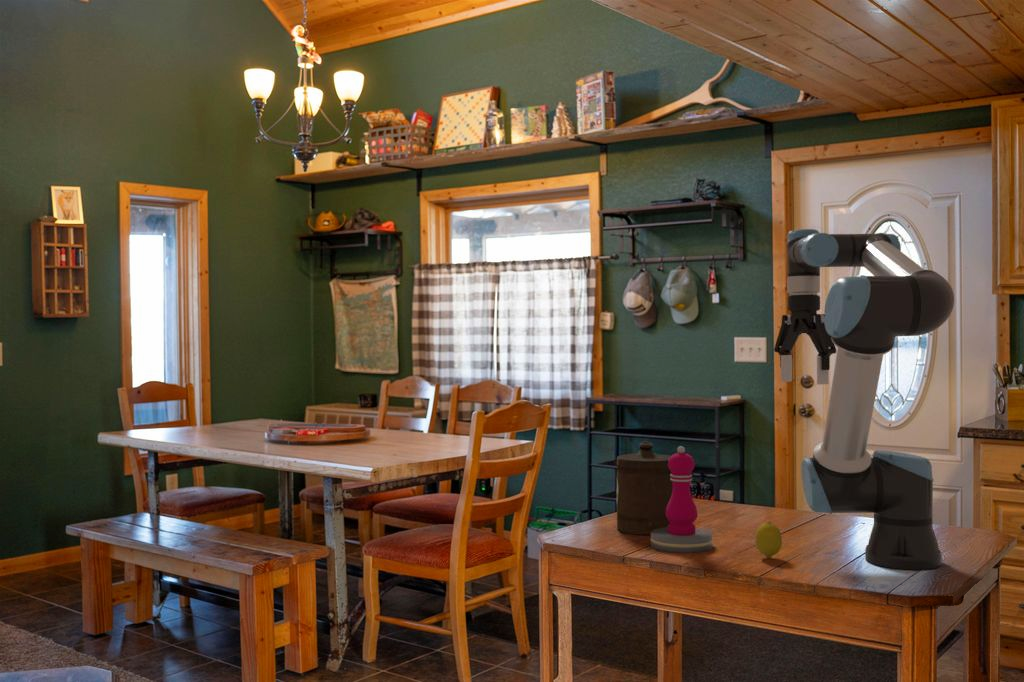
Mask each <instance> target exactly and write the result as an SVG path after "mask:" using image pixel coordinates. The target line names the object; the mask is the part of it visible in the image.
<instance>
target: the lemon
mask: <svg viewBox="0 0 1024 682" xmlns="http://www.w3.org/2000/svg"><path fill="white" fill-rule="evenodd" d="M780 530H781V529H780V528H779V527H778V526H776V525H775V524H773V522H772V523H771V521H766V523H762V524H761V525H760V526H758V528H757V530H756V534H755V546H756V549H757V550H758V551H759V553H761V554H762V555H764V556H765V558H767V559H771V558H772V557H773V556H774V555H777V554H778V553H779V552H780V550H781V548H782V544H783V541H782V539H783V538H782V537H783V536H782V533H781V531H780Z"/></svg>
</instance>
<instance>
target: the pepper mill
mask: <svg viewBox="0 0 1024 682" xmlns="http://www.w3.org/2000/svg"><path fill="white" fill-rule="evenodd" d="M676 451H677V452H676V453H673V454H672V455H670V456H671V457H670V458H669V461H668V467H669V469H670V471H671V472H672V474H670V476H671V478H670V480H671V481H672V484H673V491H672V496H671V499H670V501H669V503H668V505H667V509H666V517H667V519H668V520H669V521H670V524H669V525H668V533H669V534H672V535H682V536H686V535H693V534H695V528H696V525H695V524H694V522H695V521H696V520H697V518H698V509H697V505H696V503H695V502H694V499H693V497H692V493H691V482H692V481H693V474H692V471H694V469H695V460H694V458H693V456H692V455H690V454H688V453H685V452H686V448H685V447H684V446H681V445H680V446H678V447H677V450H676Z"/></svg>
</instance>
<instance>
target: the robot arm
mask: <svg viewBox="0 0 1024 682" xmlns="http://www.w3.org/2000/svg"><path fill="white" fill-rule="evenodd" d="M786 241H787V242H786V255H787V267H786V269H787V276H786V277H787V278H786V279H787V281H786V282H787V283H786V285H787V287H786V288H787V290H786V292H787V294H789V295H788V296H787V310H788V312H790V313H791V314H783V315H782V316H781V324H780V328H779V332H778V335H777V338H776V340H775V341H776V342H775V345H774V348H773V351H774V353H778V354H779V359H780V361H779V363H780V365H779V366H780V382H782V383H786V382H793V354H792V349H793V348H794V346H795V344H796V342H797V340H798V338H799V337H800V335H802V334H805V335H808V336H809V338H810V340H811V342H812V344H813V347H815V349H816V352H818V354H817V356H816V384H817V385H830V384H829V383H830V381H829V380H830V379H829V370H830V368H831V367H830V365H831V364H830V362H831V361H830V357H831V356H832V355H834V354H836V357H835V364H834V369H833V376H832V377H833V378H832V382H831V389H830V395H829V399H828V400H829V401H828V407H827V414H826V420H825V428H824V432H823V439H822V442H819V443H818V444H817V445H816V446H815V447H814V449H813V453H812V454H813V455H812V457H809V456H808V457H805V458H803V459H802V461H801V466H800V467H801V469H800V472H801V481H802V482H801V484H802V488H803V492H804V497H805V500H806V503H807V505H808V507H809V508H810V509H811V510H812V511H813V512H814V513H819V514H820V513H822V514H823V513H824V514H829V515H832V514H856V513H857V514H871V513H873V526H872V528H871V531H870V535H869V540H868V544H867V545H866V546H865V550H864V551H865V553H864V555H865V556H864V557H865V560H866V561H867V562H868V563H870V564H873V565H876V566H879V567H885V568H891V569H899V570H911V571H912V570H917V571H919V570H921V571H922V570H931V569H936V568H939V567H941V566H942V563H943V561H942V558H943V557H942V555H943V554H942V552H941V549H939V543H938V539H937V536H936V534H935V531H934V527H933V523H934V522H933V505H934V504H933V484H934V483H933V482H934V477H933V468H932V467H933V466H932V463H931V461H930V459H928V458H926V457H923V456H919V455H917V454H911V453H906V452H900V451H892V450H882V449H881V450H877V449H876V450H874V451H873V453H872V456H871V454H870V453H869V452H868V450H867V446H868V445H867V444H868V439H869V434H870V429H871V424H872V419H873V413H874V406H875V401H876V396H877V393H878V392H877V391H878V386H879V380H880V379H879V378H880V374H881V369H882V364H883V358H884V355H886V354H888V353H890V352H891V351H892V350H893V348H894V344H895V340H896V337H918V336H922V335H927V334H929V333H931V332H933V331H935V330H937V329H939V328H940V327H941V326H943V324H944V323H946V322H947V321H948V319H949V318H950V316H951V314H952V312H953V309H954V305H955V294H954V290H953V288H952V287H953V286H951V284H950V283H949V281H948V280H947V279H946V278H945V277H943V276H942V275H941V274H939V273H938V272H936V271H934V270H931V269H925V268H923V267H922V266H921V265H919V264H918V263H916V262H915V261H914V260H912V259H911V257H909V256H907V255H906V254H905V253H903V251H902V248H901V242H900V240H899V237H898V236H897V235H896V234H894V233H884V232H877V233H837V234H836V233H833V234H832V233H827V232H820V231H818V230H817V229H813V228H812V229H811V228H806V229H805V228H803V229H802V228H799V229H793V230H790V231H789V232H788V233H787V240H786ZM845 267H847V268H848V267H849V268H853V267H854V268H855V267H861V268H865V269H866V270H867V271H869V272H870V273H871V274H872V276H871V275H864V274H863V275H856V276H845V277H841V278H839V279H837V280H836V281H835V282H834V283H833V285H831V287H830V290H829V291H828V294H827V295H826V300H825V304H824V309H823V311H824V313H817V312H818V311H820V310H821V296H820V295H819V293H820V291H821V279H820V276H821V268H845Z"/></svg>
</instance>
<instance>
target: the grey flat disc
mask: <svg viewBox="0 0 1024 682" xmlns="http://www.w3.org/2000/svg"><path fill="white" fill-rule="evenodd" d="M650 547H651V548H652V549H655V550H658V551H661V552H662V551H663V552H666V553H667V552H668V553H676V554H677V553H679V554H681V553H682V554H690V553H691V554H693V553H702V552H708V551H710V550H711V549H713V533H712V531H710V530H707V529H704V528H700V527H699V528H698V527H695V534H693V535H686V536H682V535H672V534H669V533H668V527H664V528H658V529H654V530H652V531H651V535H650Z"/></svg>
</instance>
